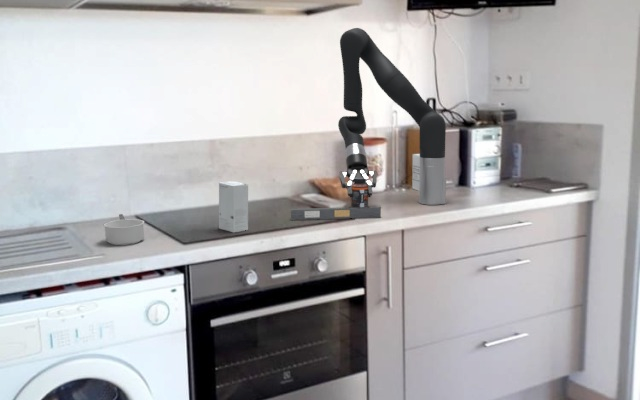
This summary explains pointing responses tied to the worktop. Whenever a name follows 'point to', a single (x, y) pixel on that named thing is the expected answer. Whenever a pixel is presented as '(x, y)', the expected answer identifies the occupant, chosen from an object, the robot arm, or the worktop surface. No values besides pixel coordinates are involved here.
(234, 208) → the skincare box
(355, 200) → the supplement bottle
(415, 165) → the supplement box
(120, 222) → the saucepan
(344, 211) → the price rail
